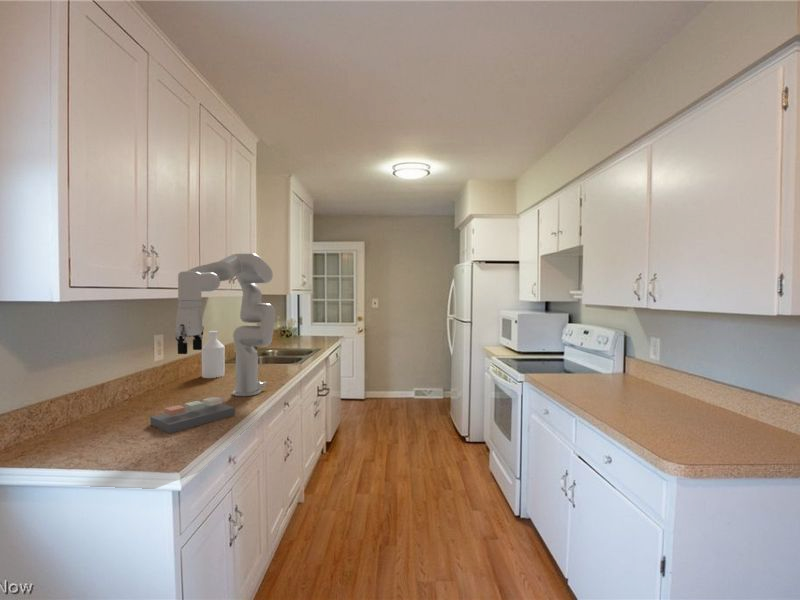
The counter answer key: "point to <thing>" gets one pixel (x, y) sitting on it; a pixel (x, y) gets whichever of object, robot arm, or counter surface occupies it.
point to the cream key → (212, 401)
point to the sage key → (194, 405)
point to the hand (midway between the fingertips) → (190, 351)
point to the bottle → (213, 357)
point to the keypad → (192, 417)
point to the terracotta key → (174, 410)
